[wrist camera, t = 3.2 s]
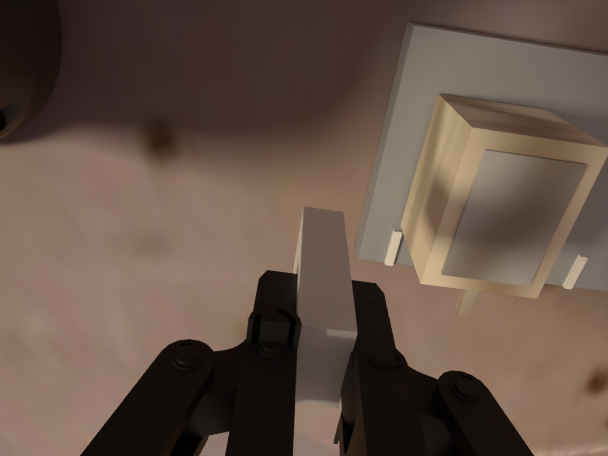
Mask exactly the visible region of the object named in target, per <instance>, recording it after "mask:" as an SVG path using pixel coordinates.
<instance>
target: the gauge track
mask: <svg viewBox="0 0 608 456" xmlns="http://www.w3.org/2000/svg"><path fill="white" fill-rule="evenodd" d="M438 93H439V94H445V95H452V96H458V97H465V98H471V99H478V100H484V101H491V102H498V103H504V104H511V105H517V106H524V107H530V108H537V109H543V110H548V111H550V112H551V113H553V114H555V115H556V116H558V117H560V118H562V119H563V120H565V121H567V122H568V123H570V124H572V125H573V126H575V127H577V128H578V129H580V130H582V131H583V132H585V133H587V134H588V135H590V136H592V137H593V138H595V139H597V140H598V141H600V142H602V143H603V144H605V145H607V146H608V54H607V53H601V52H594V51H588V50H582V49H576V48H569V47H563V46H557V45H551V44H545V43H538V42H532V41H526V40H520V39H514V38H507V37H501V36H495V35H489V34H482V33H476V32H470V31H464V30H458V29H451V28H445V27H439V26H433V25H427V24H420V23H414V22H408V21H407V24H406V28H405V32H404V37H403V41H402V45H401V50H400V54H399V58H398V62H397V67H396V71H395V75H394V80H393V84H392V88H391V92H390V97H389V101H388V105H387V110H386V114H385V118H384V123H383V127H382V131H381V135H380V140H379V144H378V148H377V153H376V157H375V161H374V165H373V170H372V174H371V178H370V183H369V187H368V191H367V196H366V200H365V204H364V208H363V213H362V217H361V221H360V226H359V230H358V234H357V238H356V250H357V256H358V259H362V260H370V261H377V262H385V265H389V266H393V264H400V265H408V266H414V263H413V260H412V257H411V254H410V252H409V249H408V246H407V243H406V240H405V237H404V234H403V231H402V228H401V221H402V218H403V214H404V211H405V207H406V204H407V200H408V197H409V193H410V190H411V186H412V183H413V179H414V175H415V172H416V168H417V165H418V161H419V158H420V154H421V151H422V147H423V144H424V140H425V137H426V133H427V130H428V126H429V122H430V119H431V115H432V112H433V108H434V105H435V101H436V98H437V94H438ZM545 284H553V285H561V286H563V287H564V288H565V289H572V288H573V287H576V288H584V289H591V290H599V291H606V292H608V156H607V158H606V160H605V162H604V164H603V166H602V168H601V170H600V172H599V174H598V176H597V178H596V180H595V182H594V184H593V186H592V188H591V190H590V192H589V194H588V196H587V198H586V200H585V203H584V205H583V207H582V209H581V211H580V213H579V215H578V217H577V219H576V221H575V223H574V225H573V227H572V229H571V231H570V233H569V235H568V237H567V239H566V241H565V243H564V245H563V247H562V249H561V251H560V253H559V255H558V257H557V259H556V261H555V263H554V265H553V267H552V269H551V271H550V273H549V275H548V277H547V279H546V281H545Z"/></svg>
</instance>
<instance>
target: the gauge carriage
mask: <svg viewBox="0 0 608 456" xmlns="http://www.w3.org/2000/svg"><path fill="white" fill-rule="evenodd" d="M607 156H608V146H607V145H605V144H603V143H602V142H600V141H598V140H597V139H595V138H593V137H592V136H590V135H588V134H587V133H585V132H583V131H582V130H580V129H578V128H577V127H575V126H573V125H572V124H570V123H568V122H567V121H565V120H563V119H562V118H560V117H558V116H556V115H555V114H553V113H551V112H550V111H548V110H543V109H537V108H530V107H524V106H517V105H511V104H504V103H498V102H491V101H484V100H478V99H471V98H465V97H458V96H452V95H445V94H439V93H438V94H437V98H436V101H435V105H434V108H433V112H432V115H431V119H430V122H429V126H428V130H427V133H426V137H425V140H424V144H423V147H422V151H421V154H420V158H419V161H418V165H417V168H416V172H415V175H414V179H413V183H412V186H411V190H410V193H409V197H408V200H407V204H406V207H405V211H404V214H403V218H402V221H401V228H402V231H403V234H404V237H405V240H406V243H407V246H408V249H409V252H410V254H411V257H412V260H413V263H414V266H415V269H416V272H417V275H418V278H419V281H420V284H427V285H435V286H442V287H450V288H458V289H462V291H461V294H460V296H459V299H458V302H457V304H456V307H455V308H456V311H457V313H458V315H464V316H470V313H471V311H472V308H473V306H474V303H475V301H476V299H477V296H478V294H479V291H481V292H489V293H497V294H504V295H512V296H520V297H528V298H535V299H537V297H538V295H539V293H540V291H541V289H542V287H543V285H544V283H545V281H546V279H547V277H548V275H549V273H550V271H551V269H552V267H553V265H554V263H555V261H556V259H557V257H558V255H559V253H560V251H561V249H562V247H563V245H564V243H565V241H566V239H567V237H568V235H569V233H570V231H571V229H572V227H573V225H574V223H575V221H576V219H577V217H578V215H579V213H580V211H581V209H582V207H583V205H584V203H585V200H586V198H587V196H588V194H589V192H590V190H591V188H592V186H593V184H594V182H595V180H596V178H597V176H598V174H599V172H600V170H601V168H602V166H603V164H604V162H605V160H606V158H607Z"/></svg>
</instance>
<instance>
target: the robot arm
mask: <svg viewBox="0 0 608 456" xmlns="http://www.w3.org/2000/svg"><path fill="white" fill-rule="evenodd" d="M60 56H61V33H60V23H59V17H58V12H57V7H56V3H55V0H0V139H2V138H4V137H6V136H7V135H9V134H11V133H13V132H15V131H17V130H18V129H20V128H21V127H23V126H24V125H26V124H27V123H28V122H30V121H31V120H32V119H33V118H34V117H35V116H36V115H37V114H38V112H39V111H40V110H41V109H42V107H43V106H44V105H45V103H46V101H47V100H48V98H49V96H50V94H51V92H52V90H53V87H54V84H55V82H56V79H57V74H58V70H59V64H60ZM340 398H341V402H342V411H341V415H340V419H339V422H338V426H337V430H336V434H335V438H334V443H333V444H338V440H339V447H340V456H534V455H533V453H532V452H531V451H530V449H529V448H528V446H527V445H526V443H525V442H524V440H523V439H522V438H521V436H520V435H519V433H518V432H517V430H516V429H515V427H514V426H513V424H512V423H511V422H510V420H509V419H508V417H507V416H506V414H505V413H504V411H503V410H502V408H501V407H500V406H499V404H498V403H497V401H496V400H495V398H494V397H493V395H492V394H491V392H490V391H489V390H488V388H487V387H486V386H485V385H484V384H483V383H482V382H481V381H480V380H478V379H477V378H475V377H474V376H472V375H470V374H467V373H465V372H462V371H448V372H444V373H443V374H442V375H441V376H440V377H439V379H435V378H433V377H430V376H427V375H425V374H422V373H420V372H418V371H416V370H414V369H412V368H411V367H409V366H408V364H407V362H406V360H405V357H404V356H403V355H402V354H401V353H400V352H399V351H398V350H397V349H396V347H395V342H394V337H393V333H392V328H391V323H390V319H389V316H388V309H387V307H386V300H385V295H384V293H383V292H382V291H381V289H380V288H379V287H378V285H377V284H376V283H370V282H362V281H354V280H351V272H350V264H349V255H348V247H347V238H346V230H345V221H344V213H343V212H339V211H332V210H325V209H317V208H310V207H303V213H302V220H301V226H300V232H299V238H298V245H297V251H296V257H295V263H294V272H293V273H285V272H278V271H270V270H267V271H266V272H265V273H264V274H263V275H262V276H261V277H260V278H259V282H258V287H257V293H256V298H255V303H254V309H253V312H252V313H251V315H250V317H249V319H248V328H247V337H246V339H245V340H244V342H242V343H241V344H240V345H238V346H236V347H234V348H231V349H227V350H222V351H215V352H213V350H212V349H211V348H210V347H209V346H208V345H207V344H205V343H203V342H201V341H198V340H191V339H187V340H179V341H176V342H174V343H171V344H169V345H168V346H167V347H166V348H164V349H163V350H162V351H161V352H160V354H159V355H158V356H157V358H156V359H155V360H154V361H153V363H152V364H151V365H150V367H149V368H148V369H147V370H146V372H145V373H144V374H143V376H142V377H141V378H140V379H139V381H138V382H137V383H136V385H135V386H134V387H133V388H132V390H131V391H130V392H129V394H128V395H127V396H126V397H125V399H124V400H123V401H122V403H121V404H120V405H119V406H118V408H117V409H116V410H115V412H114V413H113V414H112V415H111V417H110V418H109V419H108V420H107V422H106V423H105V424H104V426H103V427H102V428H101V429H100V431H99V432H98V433H97V435H96V436H95V437H94V438H93V440H92V441H91V442H90V444H89V445H88V446H87V447H86V449H85V450H84V451H83V453H82V454H81V455H80V456H199V455H200V453H201V451H202V449H203V447H204V445H205V444H206V442H207V440H208V437H209V435H214V434H218V433H223V432H229V431H230V432H229V437H228V443H227V448H226V453H225V456H293V439H294V416H295V403H302V404H311V405H320V406H328V407H337V408H338V405H339V402H340Z"/></svg>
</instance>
